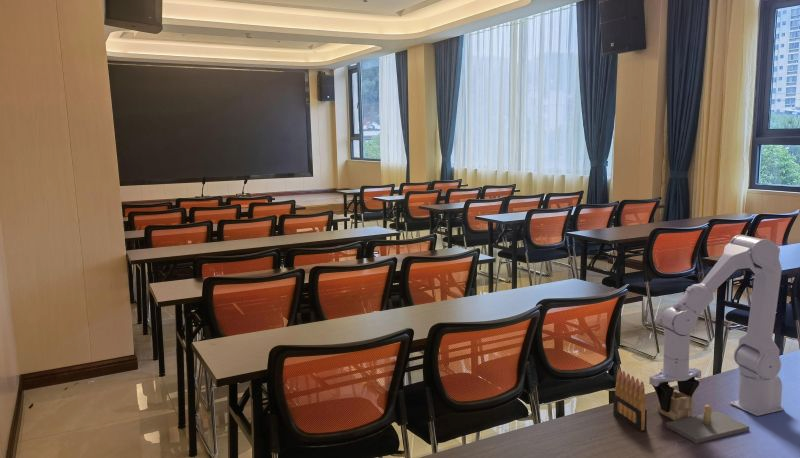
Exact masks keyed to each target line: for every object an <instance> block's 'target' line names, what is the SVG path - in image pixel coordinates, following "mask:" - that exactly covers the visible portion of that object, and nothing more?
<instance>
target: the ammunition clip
mask: <svg viewBox="0 0 800 458" xmlns="http://www.w3.org/2000/svg"><path fill="white" fill-rule="evenodd" d="M645 390H646V389H645V384H644V381H643V380H642V381H639V378H636V379H635V377H634V375H632V376H630V373H629V372H628V373H627V374H626V372H625V371H624V370H623V371H622V370H621V368H618V370H617V373H616V382H615V393H614V395H613V412H612V414H614V415H615V416H616V417H618V418H619V419H621V420H622V421H623V422H625V423H627V424H628V425H630V426H631V427H632V428H633V429H635V430H636V431H638V432H645V431H647V430H648V429H647V426H648V425H647V423H648V422H647V421H648V420H647V419H648V415H647V413H648V412H647V411H648V410H647V409H646V394H645Z"/></svg>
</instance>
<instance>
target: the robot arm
mask: <svg viewBox="0 0 800 458" xmlns="http://www.w3.org/2000/svg"><path fill="white" fill-rule="evenodd" d="M780 251H781V249H780V247H779V246H778V245H777V244H776V243H775V242H774V241H772V240H770V239H767V238H759V237H754V236H749V235H745V234H736V235H735V236H733V237H732V239H731V240H730V241H729V243H727V244H726V245H725V246H724V249H723V254H722V255H721V256H720V257H719V259H718V261H717V262H716V263H715V264H714V265H713V267H711V269H710V271H709V272H708V273H707V274H706V276H705V277H704V278H703V279H702V281H700V283H694V284H692V285H690V286H687V288H686V289H685V291H686V292H684V294H683V295H682V296H681V297H680V298H679V299H678V300H677V301H675V303H674V304H673V306H670V307H668V308H666V309H665V310H664V311H663V312H662V313H661V316H660V317H659V323H660V325H661V326H662V327H663V336H664V337H663V363H662V364H663V365H662V366H663V367H662V368H660V369H661V371H660V372H657V373H656V374H654V375H650V376H649V383H648V384H649V385H651V386H652V387H653V389H654V391H655V393H656V396H657V400H658V399H659V402H660V406H661V410H663V411H665V412H669V411H670V405H671V398H672V394H673V392H674V390H675V388H674V387H672V386H671V384H669V383H673V382H676V383H677V387H678V391H680V392H682V393H684V394H686V395H688V396H690V397H692V398H693V396H694V393H695V391H696V390H697V389H698V387H699V386H700V381H699V380H697V379H701V378H702V370H701V369H699V368H696V367H693V368H692V367H690V344H691V343H690V342H691V336H690V335H691V333H692V332H694V331H695V330H696V328H697V327H696V326H697V322H698V320H699V317H700V316H701V314H702V313H703V312H704V311H705V310H706V308H708V306H710V304H712V302H713V301H714V292H715V291H716V290H717V289H718V288H719V287H720V286H721V285H722V284H724V282H725V281H726V280H727V279H728V278H730V276H731V275H733V274H734V273H735V272H736V271H737V270H743V269H750V270H751V271H752V273H753V274H754V277H753V286H752V293H751V300H750V309H749V315H748V323H747V331H746V334H745V335H743V336H742V337H740V338H739V339H738V344H737V347H736V348H735V349H734V352H733V360H734V362H735V363H736V364H737V365H738V370H739V383H738V387H739V388H738V400H733V401H729V402H730V403H729V404H730V405H732V406H734V407H736V408H738V409H740V410H743V411H745V412H747V413H750V414H752V415H754V416H762V415H766V414H771V413H775V412H780V411H783V410H785V407H783V406H782V398H783V397H782V395H783V394H782V393H783V392H782V391H783V384H782V380H781V378H780V376H778V374H779V373H780V372H781V369H782V362H781V359H780V352H781V351H780V348H779V347H778V346H777V344H776V342H775V341H774V340H773V335H774V328H775V321H776V316H777V315H776V314H777V307H778V301H779V293H780V285H781V279H782V270H783V269H782V268H783V267H782V265H781V262H780V261H781V260H780Z"/></svg>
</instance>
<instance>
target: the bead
mask: <svg viewBox="0 0 800 458" xmlns="http://www.w3.org/2000/svg"><path fill="white" fill-rule="evenodd" d="M674 389H675V388H674ZM692 402H693V396H692V397H690V396H688V395H686V394H684V393H682V392H680V391H679V389H678V390H677V389H675V390H674V392H673V394H672V398H671V405H670V411H669V412H665V411H663V410H661V406H660V402H659V399H658V398H657V412H658V413H660V414H662V415H663V416H665V417H667V418H669V419H671V420H672V421H676V420H680V419H684V418H689V417H692V414H693V413H692V411H693V410H692V409H693V407H692V405H693V403H692Z"/></svg>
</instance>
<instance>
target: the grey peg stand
mask: <svg viewBox="0 0 800 458" xmlns="http://www.w3.org/2000/svg"><path fill="white" fill-rule="evenodd" d="M712 408H713V407H712V406H711V405H709V404H705V405H704V407H703V413H702V414H698V415H693V416H691V417H687V418H683V419H678V420H672V421H668V422H665V427H666V428H667V429H669V430H671V431H673V432H675V433H676V434H679V435H680V436H682V437H684V438H685V439H688V440H689V441H691V442H692V443H695V444H699V443H703V442H707V441H711V440H715V439H719V438H724V437H727V436H731V435H735V434H737V435H738V434H740V433H745V432H748V431H750V426H749V425H746V424H745V423H743V422H740V421H738V420H736V419H734V418H732V417H730V416H728V415H726V414H724V413H721V412H719V411H712Z"/></svg>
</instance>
